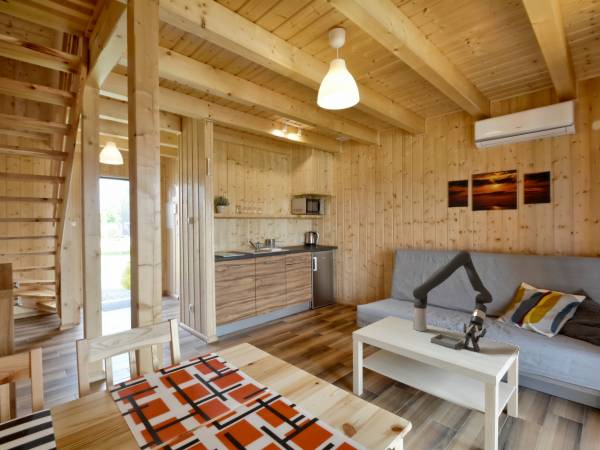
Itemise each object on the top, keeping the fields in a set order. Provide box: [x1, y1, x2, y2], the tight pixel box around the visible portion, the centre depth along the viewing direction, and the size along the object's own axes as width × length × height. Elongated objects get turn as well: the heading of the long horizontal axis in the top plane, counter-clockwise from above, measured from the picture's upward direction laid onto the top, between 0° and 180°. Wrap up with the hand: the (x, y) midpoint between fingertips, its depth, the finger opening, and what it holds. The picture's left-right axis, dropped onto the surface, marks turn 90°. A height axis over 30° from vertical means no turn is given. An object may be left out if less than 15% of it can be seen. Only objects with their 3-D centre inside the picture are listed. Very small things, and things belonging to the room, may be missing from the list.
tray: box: [430, 333, 465, 350], centre depth 213 cm, size 16×14×3 cm
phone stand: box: [462, 330, 481, 353], centre depth 202 cm, size 9×6×12 cm, turn 46°
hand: (471, 340), depth 202 cm, fingers open, 5 cm apart
